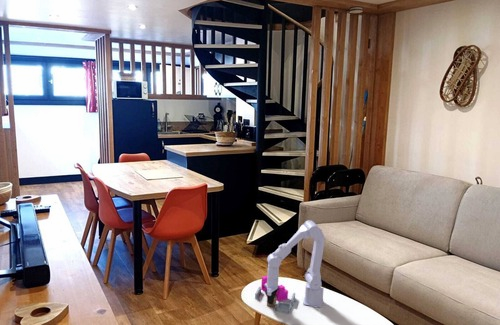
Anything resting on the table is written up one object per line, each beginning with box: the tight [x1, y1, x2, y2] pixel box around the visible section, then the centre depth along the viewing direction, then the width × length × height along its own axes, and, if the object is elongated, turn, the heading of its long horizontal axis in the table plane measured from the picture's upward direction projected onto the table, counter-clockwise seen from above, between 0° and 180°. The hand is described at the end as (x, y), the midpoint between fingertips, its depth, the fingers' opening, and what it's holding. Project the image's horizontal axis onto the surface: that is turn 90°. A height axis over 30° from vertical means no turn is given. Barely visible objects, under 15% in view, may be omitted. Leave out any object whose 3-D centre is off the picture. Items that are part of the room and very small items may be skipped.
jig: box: [254, 286, 296, 314], centre depth 206 cm, size 20×16×3 cm
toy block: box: [260, 275, 289, 302], centre depth 214 cm, size 15×6×8 cm, turn 36°
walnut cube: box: [266, 296, 277, 308], centre depth 203 cm, size 4×4×4 cm
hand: (271, 301), depth 203 cm, fingers closed on walnut cube, 4 cm apart
